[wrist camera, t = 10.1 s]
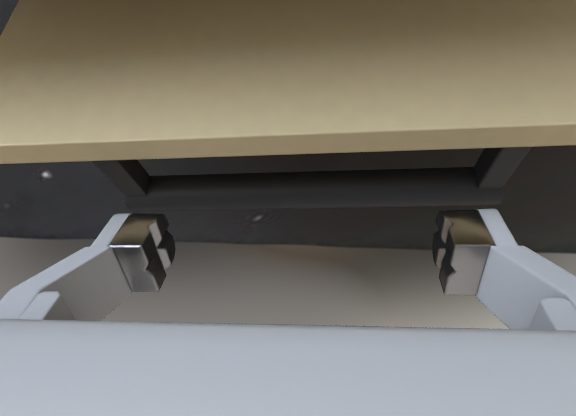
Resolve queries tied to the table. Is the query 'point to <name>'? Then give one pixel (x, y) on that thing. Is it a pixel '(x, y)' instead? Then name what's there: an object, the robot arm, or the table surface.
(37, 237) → the table surface
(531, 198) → the table surface
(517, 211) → the table surface
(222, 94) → the oven door
